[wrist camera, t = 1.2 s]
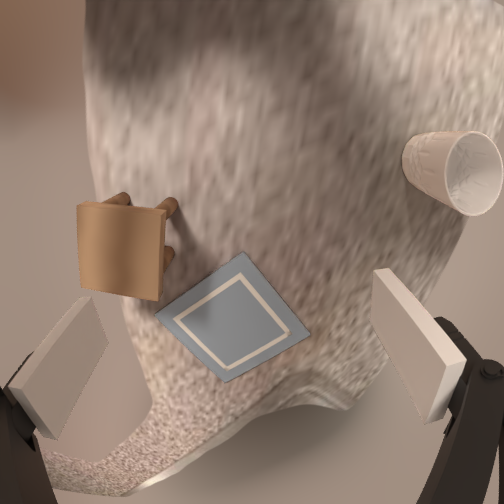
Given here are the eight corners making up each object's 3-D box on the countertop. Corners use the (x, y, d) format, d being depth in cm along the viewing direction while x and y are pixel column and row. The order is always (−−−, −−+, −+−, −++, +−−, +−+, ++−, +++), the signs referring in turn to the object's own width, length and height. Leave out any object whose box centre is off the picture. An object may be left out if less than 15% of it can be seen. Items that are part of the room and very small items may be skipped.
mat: (155, 313, 38) (154, 315, 38) (243, 251, 35) (243, 252, 35) (225, 381, 42) (224, 383, 42) (310, 333, 39) (310, 335, 39)
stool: (113, 254, 35) (81, 287, 27) (114, 187, 33) (76, 205, 24) (177, 263, 36) (158, 301, 28) (182, 194, 33) (161, 215, 25)
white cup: (438, 203, 33) (487, 227, 24) (387, 180, 33) (433, 198, 23) (457, 145, 31) (511, 154, 21) (408, 117, 30) (459, 115, 21)
